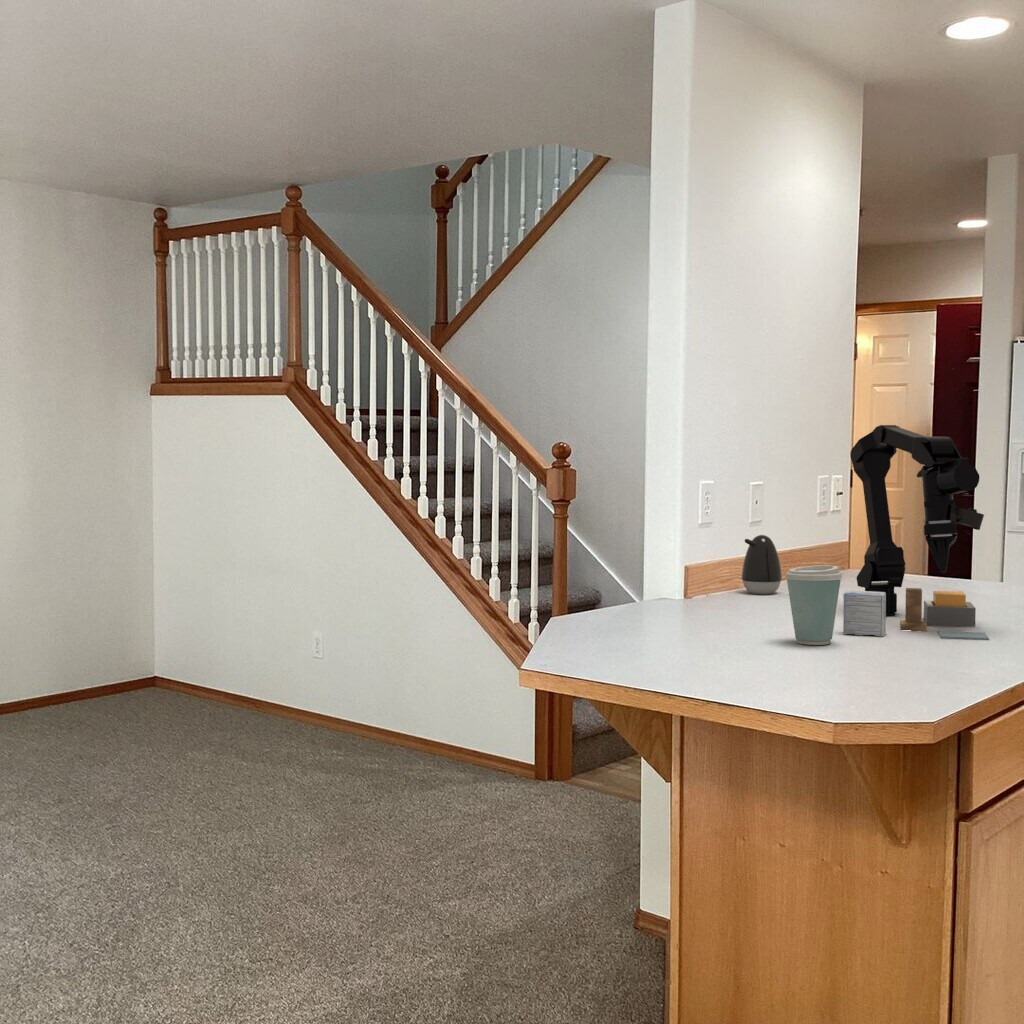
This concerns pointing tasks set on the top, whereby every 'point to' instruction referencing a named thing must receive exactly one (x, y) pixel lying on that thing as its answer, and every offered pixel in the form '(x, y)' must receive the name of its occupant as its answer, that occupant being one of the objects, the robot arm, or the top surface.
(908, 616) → the press tool
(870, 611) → the medicine box
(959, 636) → the rubber mat
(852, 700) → the top surface
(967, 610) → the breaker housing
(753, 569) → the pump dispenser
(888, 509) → the robot arm
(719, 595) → the top surface
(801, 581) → the disposable coffee cup
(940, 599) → the button
